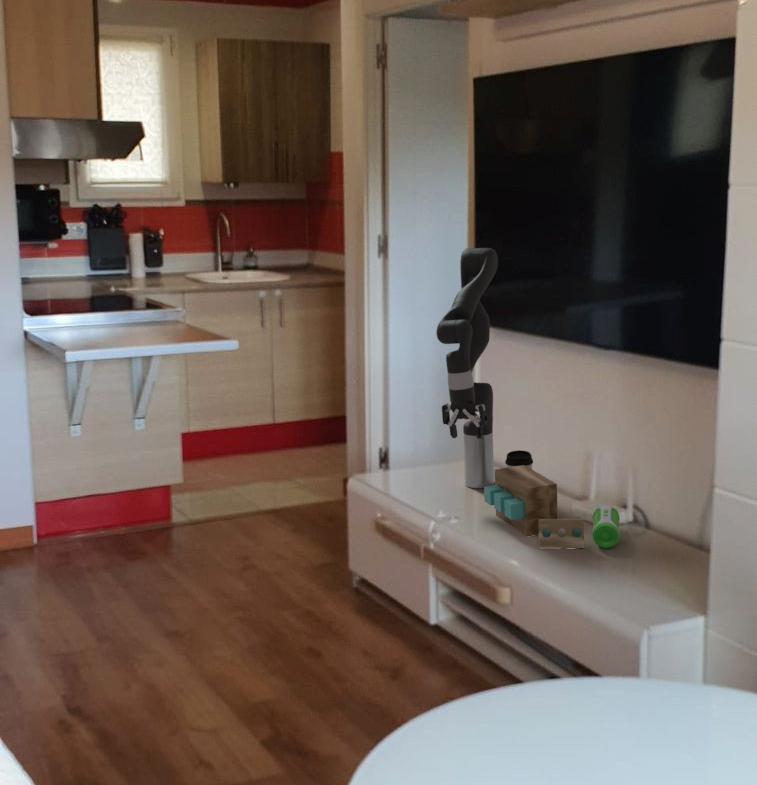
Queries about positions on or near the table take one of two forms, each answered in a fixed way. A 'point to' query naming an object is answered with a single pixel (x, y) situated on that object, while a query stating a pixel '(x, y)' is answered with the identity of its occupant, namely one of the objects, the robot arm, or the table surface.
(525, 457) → the coffee cup
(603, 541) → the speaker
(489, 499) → the button
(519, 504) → the button
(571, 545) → the board
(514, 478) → the button panel
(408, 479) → the table surface
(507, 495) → the button middle
